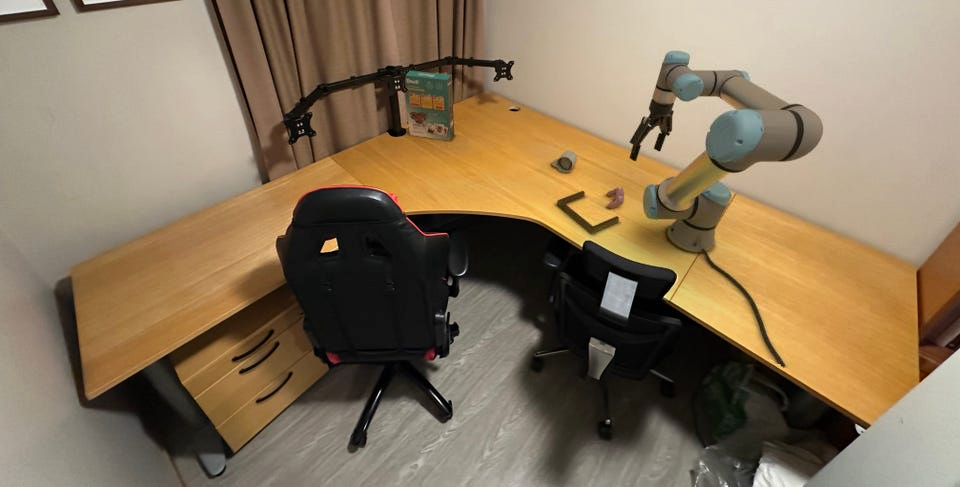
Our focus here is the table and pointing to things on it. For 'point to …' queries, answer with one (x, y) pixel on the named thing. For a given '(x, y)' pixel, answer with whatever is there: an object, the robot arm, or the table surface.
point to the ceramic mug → (565, 161)
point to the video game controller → (616, 197)
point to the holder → (578, 218)
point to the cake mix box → (430, 105)
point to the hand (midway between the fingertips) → (645, 154)
